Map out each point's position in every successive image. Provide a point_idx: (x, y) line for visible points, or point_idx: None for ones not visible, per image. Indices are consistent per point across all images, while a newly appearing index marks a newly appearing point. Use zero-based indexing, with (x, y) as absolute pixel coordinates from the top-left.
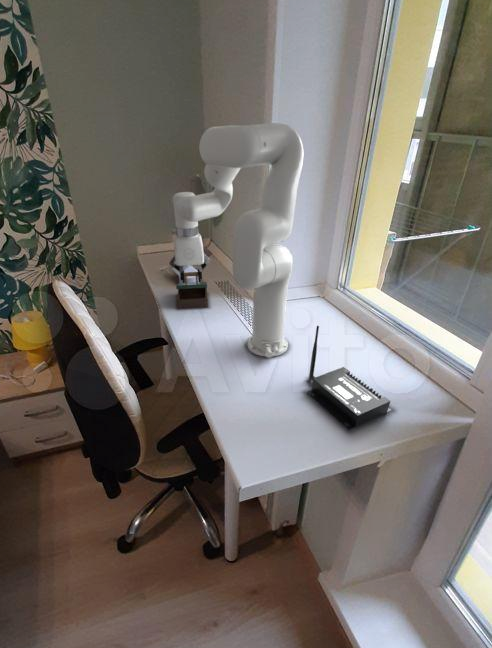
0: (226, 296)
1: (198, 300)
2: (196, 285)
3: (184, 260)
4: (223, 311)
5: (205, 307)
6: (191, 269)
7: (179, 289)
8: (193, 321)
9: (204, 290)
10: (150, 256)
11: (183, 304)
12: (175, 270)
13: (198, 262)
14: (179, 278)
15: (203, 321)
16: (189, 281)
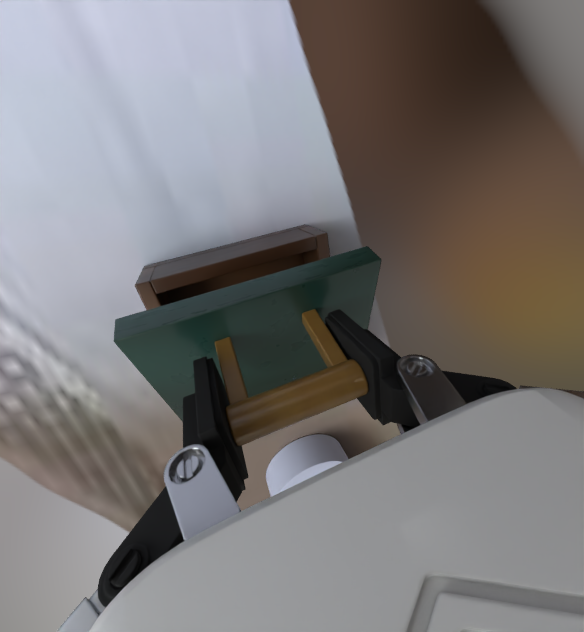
0: (87, 408)
1: (199, 264)
2: (216, 305)
3: (534, 510)
4: (6, 227)
5: (159, 262)
6: None
7: None
8: (172, 48)
9: None
10: None
11: (285, 235)
12: None
13: (196, 595)
14: (347, 458)
15: (93, 45)
16: (305, 454)
